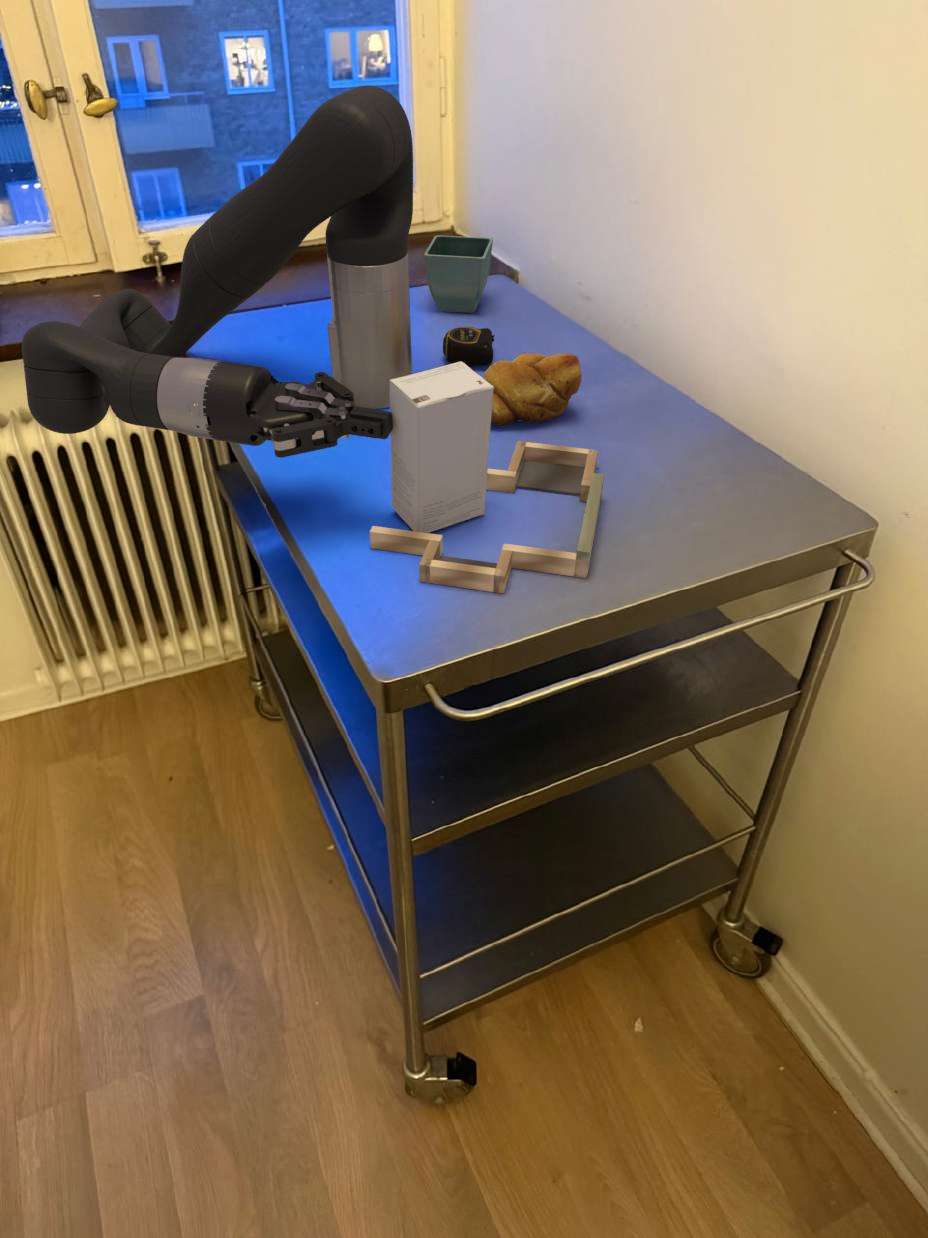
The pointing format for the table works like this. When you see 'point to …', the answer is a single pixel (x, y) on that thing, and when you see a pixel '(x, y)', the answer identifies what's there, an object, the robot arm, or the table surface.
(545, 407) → the bread roll
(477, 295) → the flower pot
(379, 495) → the table surface
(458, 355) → the tape measure
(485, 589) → the trap lane
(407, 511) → the skincare box
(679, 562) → the table surface
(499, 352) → the table surface
